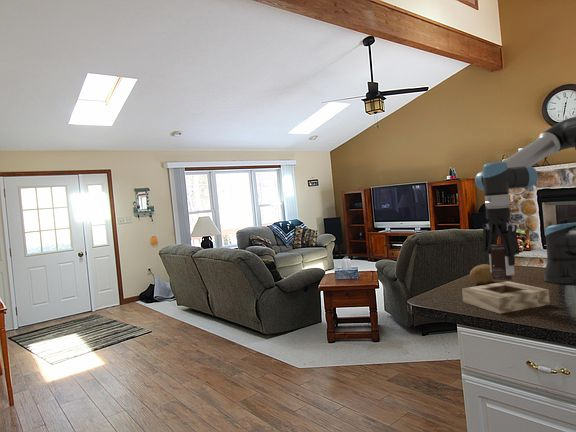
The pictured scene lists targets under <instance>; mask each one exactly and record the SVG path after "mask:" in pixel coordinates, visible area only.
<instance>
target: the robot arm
mask: <svg viewBox="0 0 576 432" xmlns="http://www.w3.org/2000/svg"><path fill="white" fill-rule="evenodd" d="M567 149H574V151H575V152H576V116H574V117H570V118H566V119H564V120H562V121H559V122H558V123H556V124H554V125H552V126H551V127H550V128H548V129H546V130H544V131H543V132H542V133H540V134H539V135H538V136H537V139H535V140H534V141H532V142H531V143H529V144H527V145H526V146H525V147H522V149H520V150H518V151H517V152H515V153H514V154H512V155H510V156H509V157H507V158H505V160H502V161H497V162H496V161H495V162H490V163H485V164H484V165H483V166H482V171H480V172H478V173H477V174H476V176H475V179H474V183H475V186H476V188H477V189H478V190H480V191H484V202H485V205H484V206H485V207H486V209H485V219H486V220H488V223H484V224H482V225H481V226H482V230H483V235H482V236H483V240H482V241H483V242H482V243H483V245H482V247H483V248H482V249H483V252H486V253H487V255H488V263H489V265H490V272H492V261H491V244H498V239H499V238H500V239H501V242H502V244H503V245H504V248H505V251H506V254H507V255H505V264H506V275H512V276H514V275H515V274H516V273H515V265H516V261H515V256H517V255H519V254H520V248H519V241H518V236H517V235H518V234H517V229H518V227H517V224H511V223H510V220H509V219H510V218H511V207H509V206H510V192H509V191H510V189H511V190H512V189H513V190H514V189H515V190H516V189H527V188H531V187H533V186H535V185H536V183H537V182H538V179H539V177H538V175H539V174H538V171H537V170H536V168H534V165H536V164H537V163H538V162H540V161H542V160H543V159H545V158H546V157H547V156H549V155H555V154H557V153H558V152H560V151H564V150H567ZM545 247H546V256H547V262H546V265H545V269H544V270H545V271H544V273H543V280H544V281H546V282H548V283H553V284H564V285H565V284H567V285H568V284H569V285H571V284H576V222H569V223H562V224H561V223H560V224H553V225H548V226H546V228H545Z"/></svg>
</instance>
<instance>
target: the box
mask: <svg viewBox="0 0 576 432" xmlns="http://www.w3.org/2000/svg"><path fill="white" fill-rule="evenodd" d="M505 255H507V254H506V251H505V248H504V245H503V243H497V244H491V261H492V276H493V280H499V281H500V280H502V281H503V280H505V281H512V278H513V275H506V264H505ZM493 280H492V281H493Z"/></svg>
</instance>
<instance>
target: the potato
mask: <svg viewBox="0 0 576 432" xmlns="http://www.w3.org/2000/svg"><path fill="white" fill-rule="evenodd" d="M469 277H470V279H471V280H472V281H473V282H475V283H477V284H480V285H482V284H483V285H488V284H490V283H491V282H493V276H492V272H490V264H488V263H485V264H484V263H483V264H480V265H479V264H478V265H476V266H474V267H473V268H472V269H471V270H470V272H469Z"/></svg>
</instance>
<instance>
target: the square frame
mask: <svg viewBox="0 0 576 432" xmlns="http://www.w3.org/2000/svg"><path fill="white" fill-rule="evenodd" d="M461 292H462V293H461V294H462V303H464V304H467V305H470V306H472V307H473V306H474V307H477V308H480V309H482V310H487V311H489V312H492V313H496V314H507V313H511V312H517V311H521V310H526V309H532V308H533V309H534V308H538V307H544V306H550V305H551V304H550V301H551V300H550V290H549V289H548V288H542V287H539V286H538V287H537V286H533V285H527V284H523V283H518V282H513V281H510V280H505V281H501V282H495V283H487V284H483V285H482V284H480V285H478V286H477V285H476V286H471V287H469V286H468V287H464V288H462V289H461Z"/></svg>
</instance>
